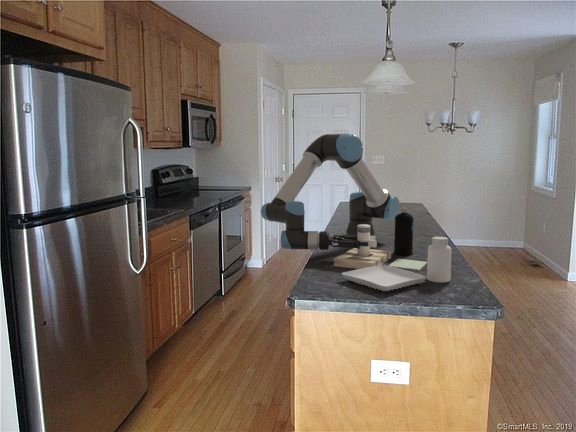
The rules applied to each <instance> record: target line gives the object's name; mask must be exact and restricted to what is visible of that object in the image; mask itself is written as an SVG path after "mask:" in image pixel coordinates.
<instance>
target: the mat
mask: <svg viewBox="0 0 576 432" xmlns="http://www.w3.org/2000/svg"><path fill="white" fill-rule="evenodd" d="M387 266H390V267H394V268H398V269H402V270H411V269H412V270H413V271H421V270H422V269H423V268H424V267H425V266H427V261H422V260H416V259H415V260H413V259H405V258H397V259H395V260H394V261H393V262H391V263H390V264H388V265H387Z"/></svg>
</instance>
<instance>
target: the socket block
mask: <svg viewBox="0 0 576 432" xmlns="http://www.w3.org/2000/svg"><path fill="white" fill-rule="evenodd" d="M389 259H390V260H391V259H392V251H389V250H381V249H380V250H379V249H371V248H370V257H361V256H357V248H350V249H349V250H348V251H346V252H343V253H342V254H340V255H338V256H336V257H334V260H333V261H334V263H333V265H334V267H341V268H348V269H355V270H357V269H362V268H367V267H372V266H377V265H385V264H386V263H387V262H388V261H390V260H389Z"/></svg>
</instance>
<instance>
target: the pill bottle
mask: <svg viewBox="0 0 576 432" xmlns="http://www.w3.org/2000/svg"><path fill="white" fill-rule="evenodd" d="M448 243H449V238H448V237H445V236H433V237H432V238H431V245H429V246H428V248H427V259H426V260H427V261H426V262H427V264H426V268H427V269H426V276H427V278H426V279H427V280H428V281H429V282H433V283H438V284H439V283H442V284H443V283H448V282H451V279H452V253H453V251H452V248H451V246H450V245H448Z"/></svg>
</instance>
